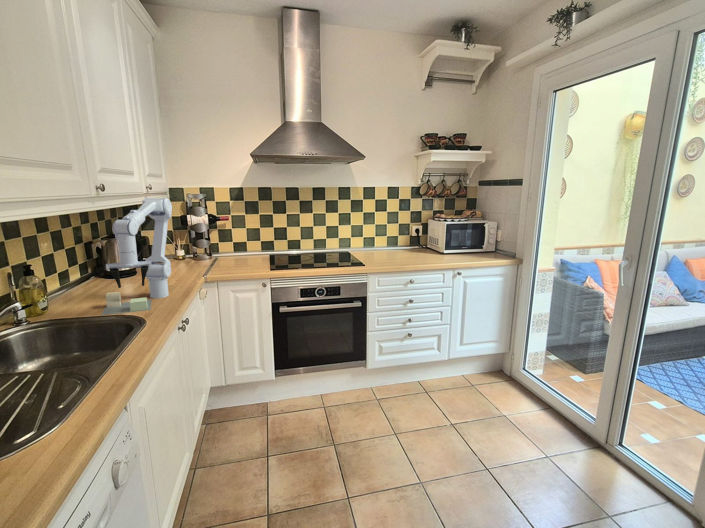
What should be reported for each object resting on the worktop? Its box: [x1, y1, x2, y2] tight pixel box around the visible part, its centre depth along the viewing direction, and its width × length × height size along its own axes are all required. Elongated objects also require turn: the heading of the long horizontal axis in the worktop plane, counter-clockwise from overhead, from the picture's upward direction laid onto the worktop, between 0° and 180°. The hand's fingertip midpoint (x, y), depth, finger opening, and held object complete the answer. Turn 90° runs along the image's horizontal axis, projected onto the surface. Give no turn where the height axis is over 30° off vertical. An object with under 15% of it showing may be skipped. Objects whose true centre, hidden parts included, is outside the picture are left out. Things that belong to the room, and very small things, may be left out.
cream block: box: [105, 291, 122, 308], centre depth 139 cm, size 4×4×5 cm
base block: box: [129, 297, 148, 312], centre depth 137 cm, size 6×6×4 cm
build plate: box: [100, 299, 152, 317], centre depth 139 cm, size 15×16×1 cm
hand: (131, 286), depth 134 cm, fingers open, 7 cm apart
